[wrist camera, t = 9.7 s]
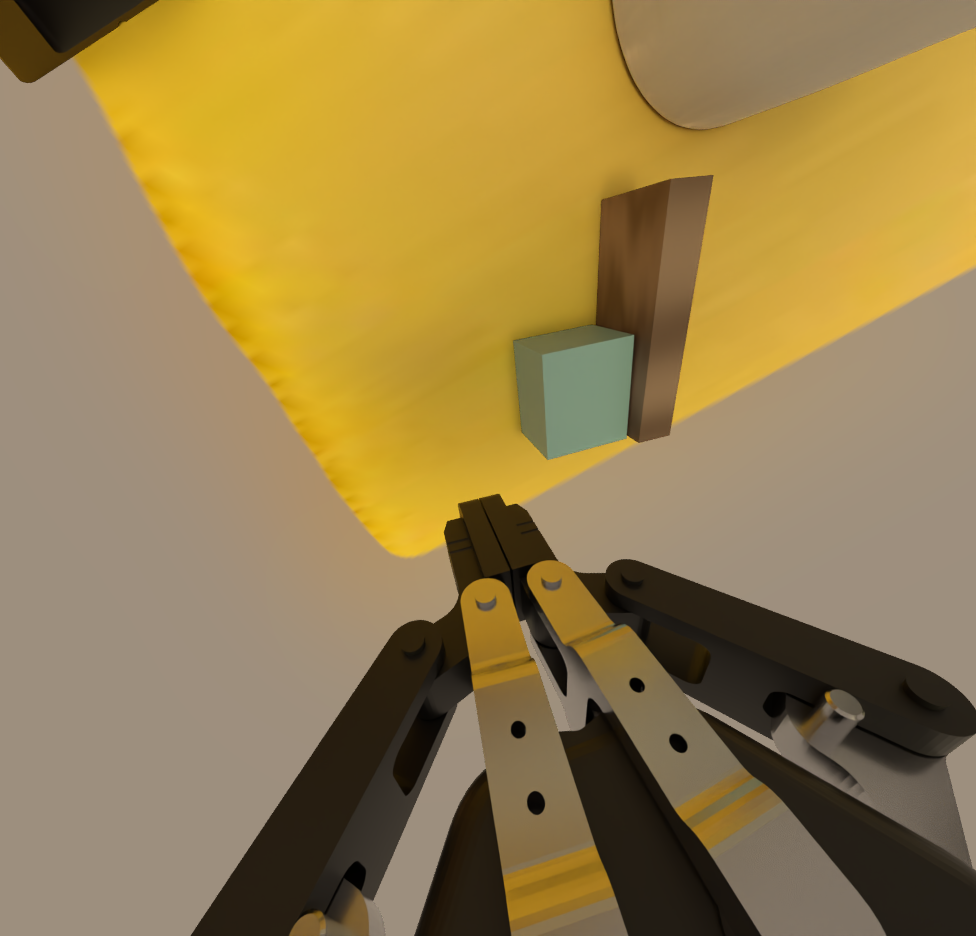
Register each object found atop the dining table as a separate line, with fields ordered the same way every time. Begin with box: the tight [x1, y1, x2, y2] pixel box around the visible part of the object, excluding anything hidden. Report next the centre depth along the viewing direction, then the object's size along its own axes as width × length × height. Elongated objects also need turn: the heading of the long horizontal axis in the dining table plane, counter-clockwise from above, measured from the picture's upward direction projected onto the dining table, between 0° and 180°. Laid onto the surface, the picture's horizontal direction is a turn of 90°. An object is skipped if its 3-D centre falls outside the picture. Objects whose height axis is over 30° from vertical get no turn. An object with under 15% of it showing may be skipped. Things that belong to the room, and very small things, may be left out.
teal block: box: [513, 325, 634, 460], centre depth 25 cm, size 7×6×5 cm
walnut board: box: [596, 175, 713, 443], centre depth 23 cm, size 14×2×6 cm, turn 6°
